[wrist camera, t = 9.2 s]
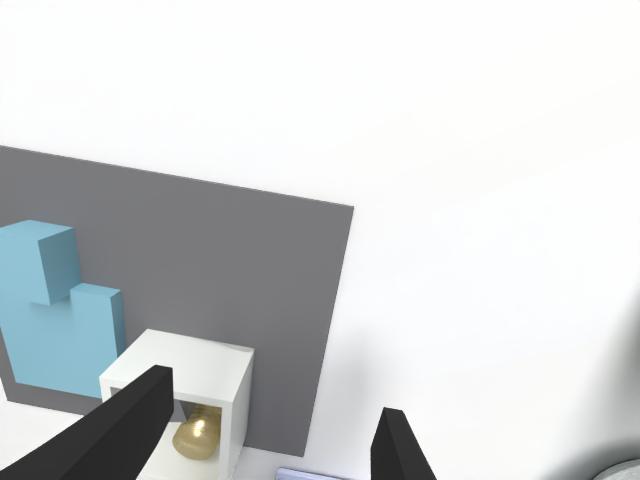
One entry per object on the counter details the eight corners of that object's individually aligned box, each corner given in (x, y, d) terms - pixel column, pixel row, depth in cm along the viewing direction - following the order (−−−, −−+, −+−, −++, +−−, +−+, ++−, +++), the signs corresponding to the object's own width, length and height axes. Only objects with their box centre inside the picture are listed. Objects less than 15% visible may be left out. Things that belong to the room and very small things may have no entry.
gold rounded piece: (229, 424, 24) (214, 463, 21) (193, 417, 24) (172, 455, 21) (231, 396, 22) (215, 434, 20) (193, 389, 23) (171, 426, 20)
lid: (131, 391, 24) (108, 419, 22) (28, 372, 24) (-4, 397, 22) (115, 235, 19) (84, 249, 17) (-13, 212, 19) (-60, 223, 17)
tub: (246, 434, 24) (225, 497, 20) (153, 416, 25) (113, 474, 20) (254, 348, 21) (232, 402, 17) (147, 328, 21) (98, 377, 17)
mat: (303, 453, 25) (303, 457, 25) (11, 397, 26) (7, 400, 25) (353, 206, 17) (354, 207, 17) (-68, 133, 18) (-74, 133, 18)
